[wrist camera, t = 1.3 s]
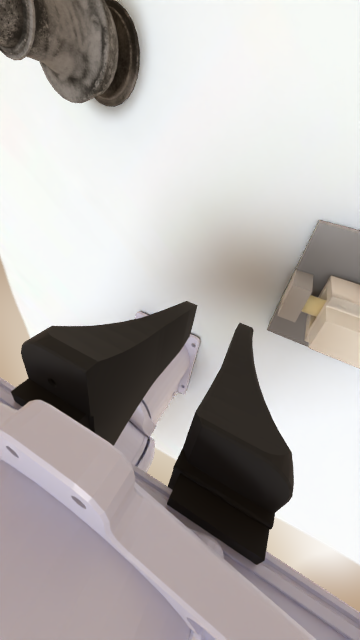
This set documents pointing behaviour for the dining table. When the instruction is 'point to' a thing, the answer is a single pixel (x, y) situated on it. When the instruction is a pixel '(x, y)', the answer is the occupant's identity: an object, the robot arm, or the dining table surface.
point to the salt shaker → (75, 45)
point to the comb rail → (316, 277)
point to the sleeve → (337, 322)
